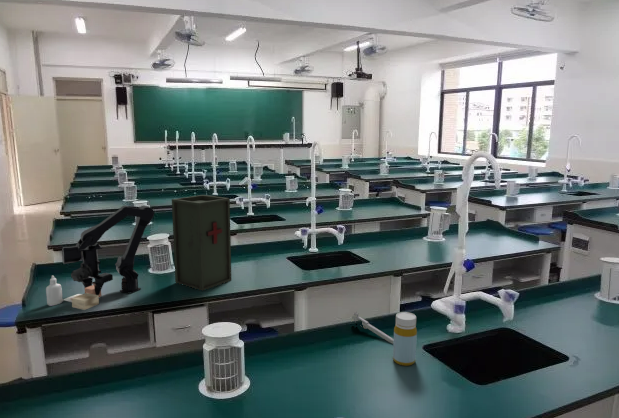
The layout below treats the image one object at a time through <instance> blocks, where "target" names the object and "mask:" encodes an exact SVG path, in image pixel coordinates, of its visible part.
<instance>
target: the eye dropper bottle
mask: <svg viewBox="0 0 619 418" xmlns="http://www.w3.org/2000/svg"><path fill="white" fill-rule="evenodd" d="M45 294H46V303H47V304H46V305H47V306H49V307H51V306H52V307H53V306H56V305H59V304H62V303H63V302H64V300H63V299H64V298H63V289H62V285H61V284H60V283H57V278H56V277H55V276H54V275H51V278H50V279H49V285H48V286H46V287H45Z"/></svg>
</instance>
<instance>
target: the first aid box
mask: <svg viewBox="0 0 619 418" xmlns="http://www.w3.org/2000/svg"><path fill="white" fill-rule="evenodd" d="M230 200H231V198H229V197H222V196H214V195H206V194H200V195H192V196H187V197H180V198H179V197H178V198H172V199H171V212H172V214H171V215H172V217H171V218H172V235H173V236H172V237H173V238H172V239H173V240H172V241H173V258H174V261H173V262H174V280H175V282H176V283H175V284H177V283H179V284H178V285H180V284H183V285H186V286H185V287H187V286H189V287H188V288H190V287H192V288H191V289H193V288H195V289H194V290H196V289H199V290H198V291H200V290H202V291H201V292H203V290H204V291H206V290H205V289H207V290H209V288H210V289H212V288H215V287H217V285H218V286H220V284H221V285H223V284H226V283H229V282H232V250H231V249H232V246H231V244H232V243H231V242H232V241H231V239H232V238H231V208H230V207H231V202H230ZM228 281H229V282H228ZM225 282H226V283H225ZM222 283H223V284H222ZM183 285H182V286H183ZM214 286H215V287H214Z"/></svg>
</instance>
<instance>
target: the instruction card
mask: <svg viewBox="0 0 619 418" xmlns="http://www.w3.org/2000/svg"><path fill="white" fill-rule="evenodd" d="M82 294H83V293H77V294H74V295H71V296H68V297H66V298H63V302H69V303H72V298H74V297H77V296H79V295H82Z"/></svg>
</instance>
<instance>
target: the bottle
mask: <svg viewBox="0 0 619 418" xmlns="http://www.w3.org/2000/svg"><path fill="white" fill-rule="evenodd" d="M416 326H417V316H416V315H415V313H412V312H406V311H401V312H397V313H396V315H395V326H394V328H393V339H394V341H393V344H392V360H393V361H394V363H395V364H398V365H400V366H403V367H405V366H406V367H407V366H408V367H409V366H412V365H414V364H415V362H416V358H417V357H416V355H417V339H418V337H417V336H418V329H417V327H416Z"/></svg>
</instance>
